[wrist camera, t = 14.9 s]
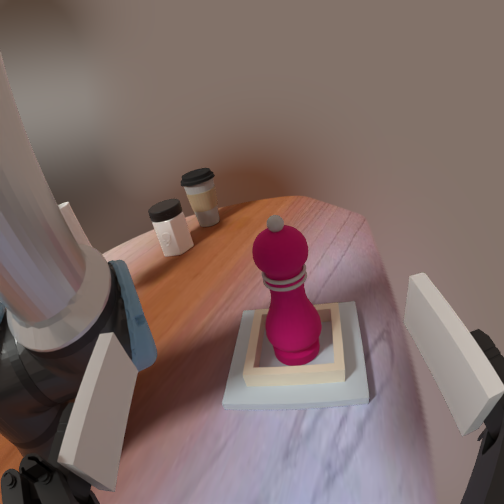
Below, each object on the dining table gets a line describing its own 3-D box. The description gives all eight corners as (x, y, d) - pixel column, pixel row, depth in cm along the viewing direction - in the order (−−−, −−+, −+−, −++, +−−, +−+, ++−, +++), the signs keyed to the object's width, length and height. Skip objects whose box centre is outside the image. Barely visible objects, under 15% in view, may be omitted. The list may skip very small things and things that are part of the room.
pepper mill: (265, 340, 45) (233, 213, 35) (311, 324, 46) (294, 196, 36) (280, 376, 39) (247, 240, 29) (331, 357, 39) (321, 219, 30)
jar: (157, 258, 78) (141, 215, 72) (168, 242, 85) (154, 202, 79) (189, 254, 76) (174, 209, 70) (198, 238, 83) (185, 196, 77)
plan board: (225, 409, 37) (216, 392, 35) (245, 317, 52) (240, 298, 51) (368, 403, 33) (370, 386, 31) (354, 308, 49) (354, 288, 47)
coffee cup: (220, 212, 95) (208, 165, 88) (229, 222, 87) (216, 170, 80) (190, 222, 93) (176, 175, 86) (197, 233, 85) (181, 182, 78)
